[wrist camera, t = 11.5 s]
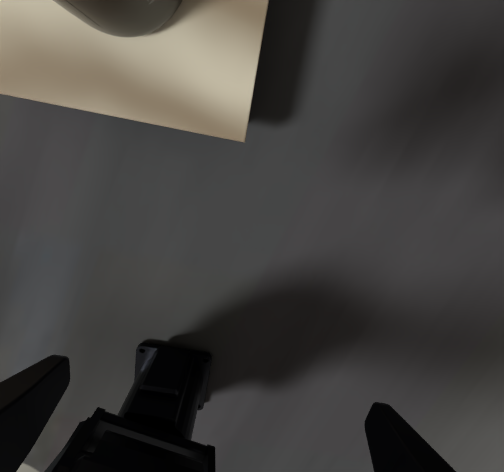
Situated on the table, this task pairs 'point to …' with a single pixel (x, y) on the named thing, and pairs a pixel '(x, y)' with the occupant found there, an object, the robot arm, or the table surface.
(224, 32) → the small stand
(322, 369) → the table surface
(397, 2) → the table surface
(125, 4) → the supplement bottle
